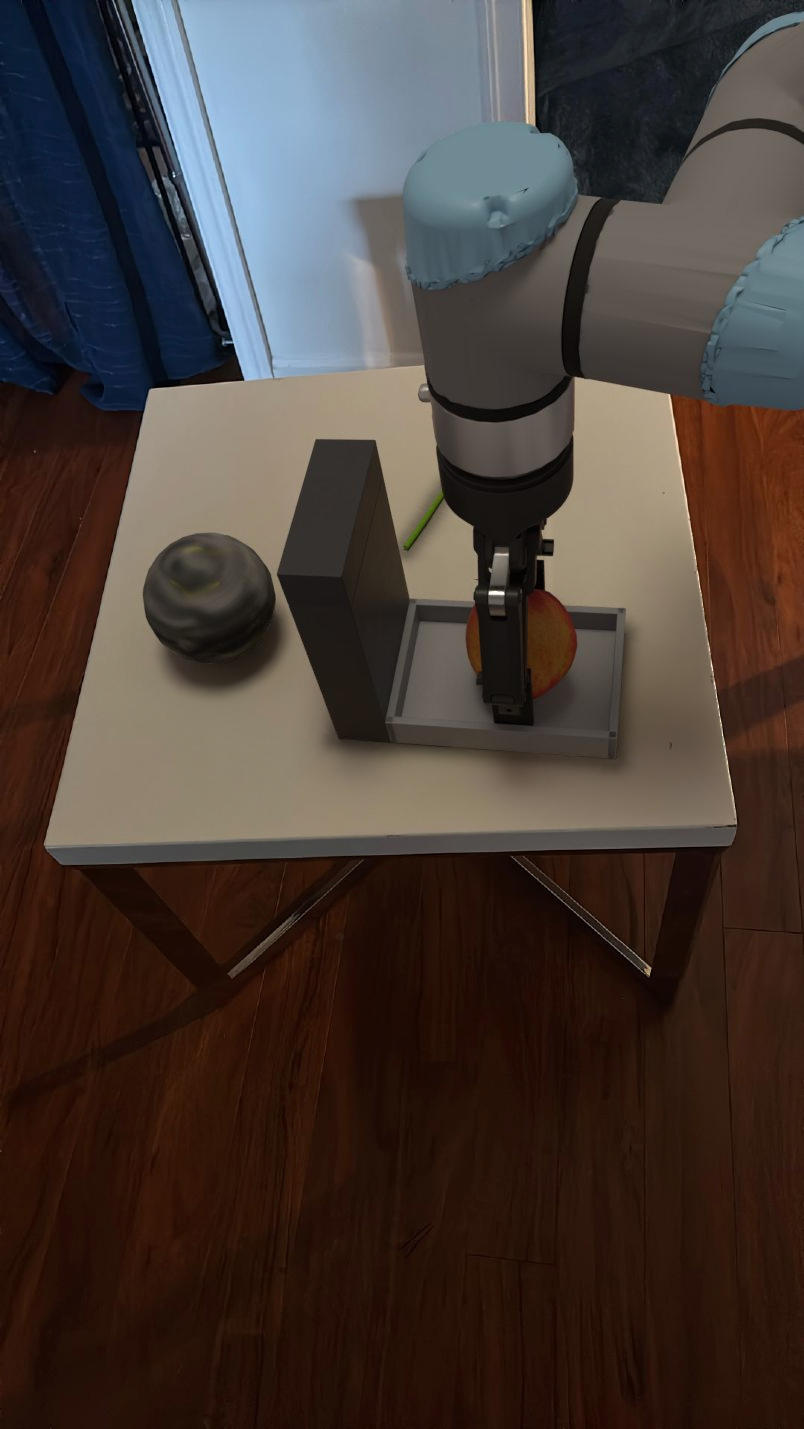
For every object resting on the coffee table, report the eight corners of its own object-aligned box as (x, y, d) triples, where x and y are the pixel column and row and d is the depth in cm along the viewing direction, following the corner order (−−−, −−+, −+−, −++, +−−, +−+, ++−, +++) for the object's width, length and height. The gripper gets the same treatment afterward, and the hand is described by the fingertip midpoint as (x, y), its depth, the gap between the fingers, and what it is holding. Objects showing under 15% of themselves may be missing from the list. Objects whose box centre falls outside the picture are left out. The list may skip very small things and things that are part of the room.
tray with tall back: (624, 630, 79) (637, 442, 63) (615, 759, 73) (627, 588, 57) (365, 617, 83) (315, 438, 67) (338, 738, 77) (276, 574, 61)
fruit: (592, 644, 76) (593, 573, 69) (554, 733, 72) (551, 668, 66) (492, 617, 79) (484, 546, 72) (450, 702, 75) (438, 636, 68)
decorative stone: (267, 696, 80) (232, 617, 72) (150, 681, 82) (102, 603, 74) (303, 594, 85) (274, 509, 76) (191, 583, 87) (151, 499, 79)
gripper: (461, 308, 63) (487, 555, 82) (404, 585, 52) (449, 795, 71) (587, 307, 61) (584, 559, 80) (555, 591, 50) (560, 805, 69)
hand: (521, 670), depth 75 cm, fingers closed on fruit, 8 cm apart
